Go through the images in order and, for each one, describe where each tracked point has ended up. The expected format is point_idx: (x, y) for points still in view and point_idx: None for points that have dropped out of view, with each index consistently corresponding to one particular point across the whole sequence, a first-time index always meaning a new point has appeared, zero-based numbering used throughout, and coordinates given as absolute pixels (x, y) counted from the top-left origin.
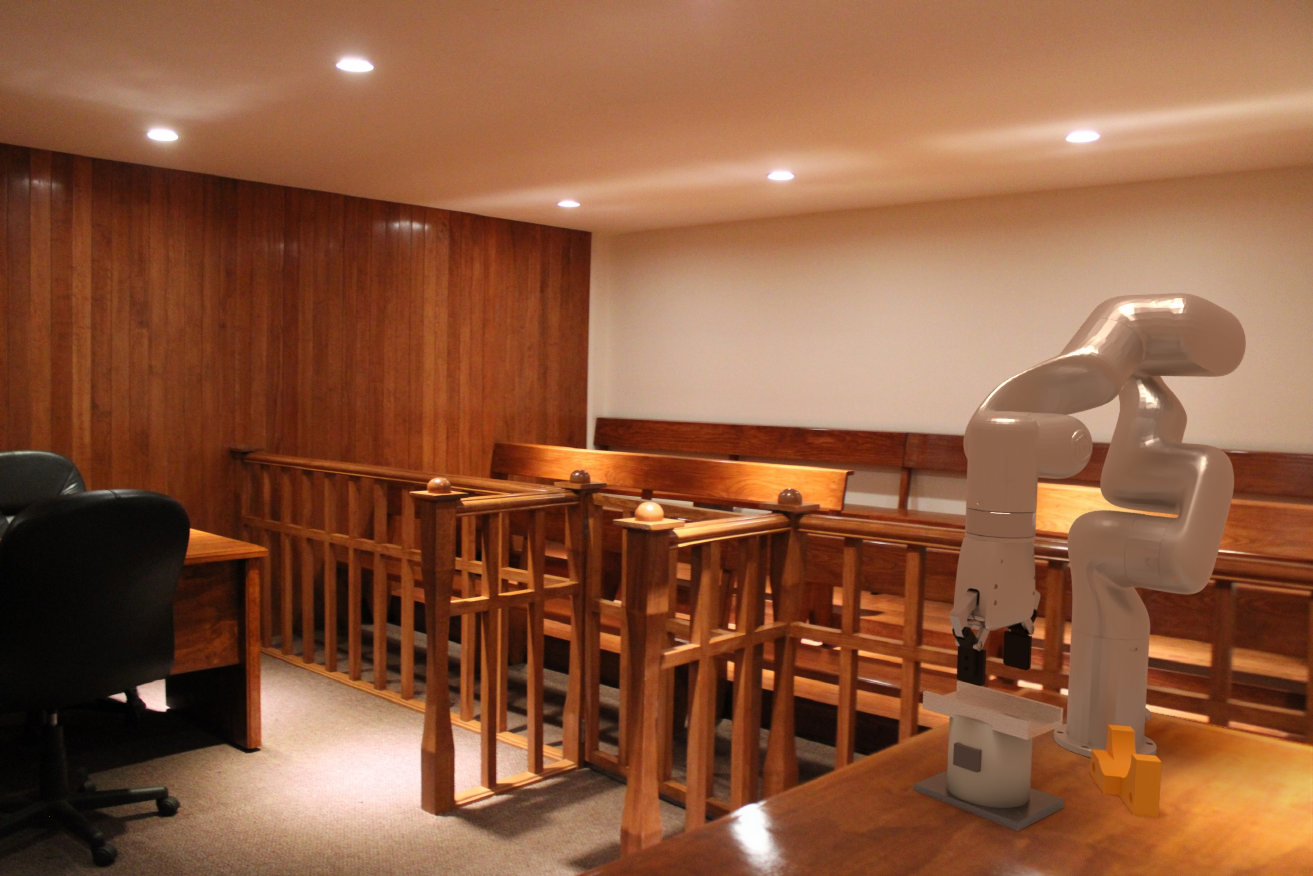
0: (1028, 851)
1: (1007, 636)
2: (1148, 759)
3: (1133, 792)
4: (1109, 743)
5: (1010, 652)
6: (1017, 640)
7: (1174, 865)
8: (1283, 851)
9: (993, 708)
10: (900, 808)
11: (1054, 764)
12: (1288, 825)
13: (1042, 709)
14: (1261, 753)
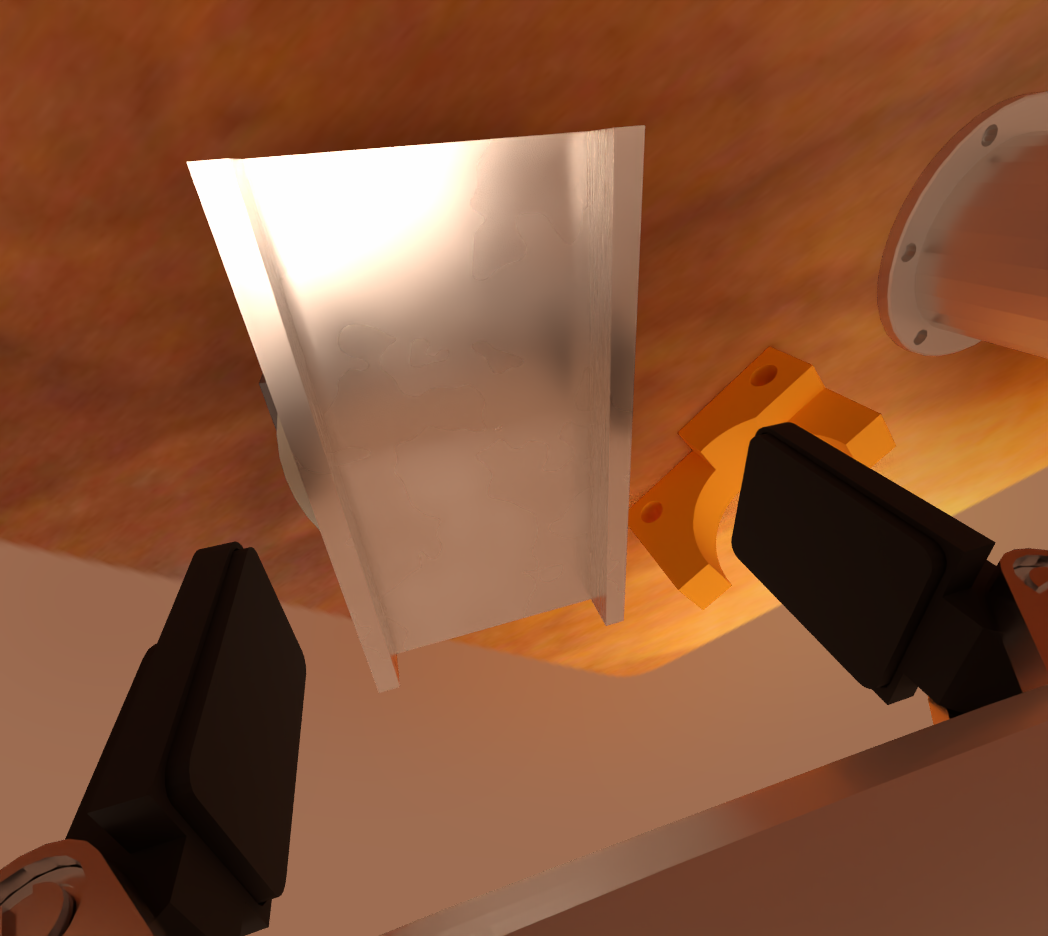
0: (287, 554)
1: (904, 564)
2: (699, 594)
3: (647, 535)
4: (826, 414)
5: (804, 514)
6: (867, 615)
7: (488, 648)
8: (659, 653)
9: (499, 437)
10: (100, 238)
11: (774, 262)
12: (753, 608)
13: (599, 563)
14: (1040, 431)
